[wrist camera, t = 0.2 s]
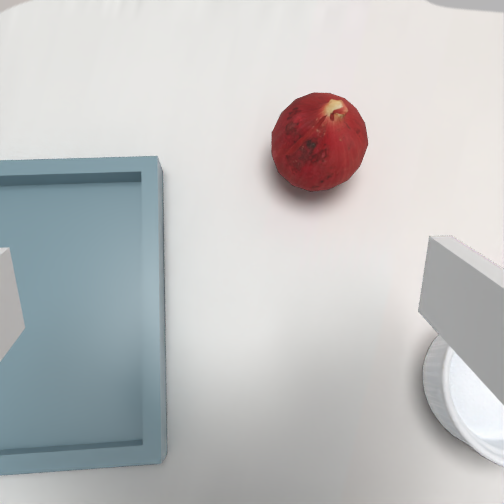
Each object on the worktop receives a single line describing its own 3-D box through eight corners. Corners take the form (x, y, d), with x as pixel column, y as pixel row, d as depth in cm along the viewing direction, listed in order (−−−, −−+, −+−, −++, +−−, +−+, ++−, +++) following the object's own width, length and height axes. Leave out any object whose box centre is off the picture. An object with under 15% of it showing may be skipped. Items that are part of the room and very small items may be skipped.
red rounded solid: (311, 223, 31) (340, 179, 23) (249, 168, 31) (256, 107, 24) (365, 165, 32) (410, 105, 24) (303, 113, 33) (328, 38, 25)
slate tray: (167, 453, 27) (161, 463, 25) (-151, 476, 26) (-190, 489, 24) (162, 171, 31) (157, 156, 29) (-115, 180, 30) (-145, 164, 27)
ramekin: (536, 473, 28) (590, 494, 24) (399, 430, 28) (429, 444, 24) (555, 334, 30) (609, 331, 26) (427, 295, 30) (460, 285, 26)
